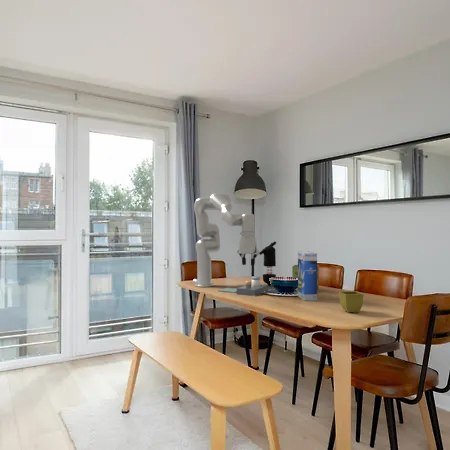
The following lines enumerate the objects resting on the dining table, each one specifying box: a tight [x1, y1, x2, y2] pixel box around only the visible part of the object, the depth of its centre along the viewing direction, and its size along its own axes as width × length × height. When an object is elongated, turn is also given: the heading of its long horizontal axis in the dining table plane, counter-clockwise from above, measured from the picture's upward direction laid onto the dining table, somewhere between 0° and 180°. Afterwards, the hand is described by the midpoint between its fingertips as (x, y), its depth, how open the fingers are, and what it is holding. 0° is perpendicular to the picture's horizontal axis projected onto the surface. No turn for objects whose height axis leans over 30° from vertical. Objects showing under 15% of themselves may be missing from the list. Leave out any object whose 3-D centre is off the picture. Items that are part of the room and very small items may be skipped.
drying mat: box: [217, 287, 238, 294], centre depth 241 cm, size 12×12×1 cm
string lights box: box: [297, 250, 318, 302], centre depth 214 cm, size 13×8×26 cm, turn 5°
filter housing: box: [236, 284, 270, 297], centre depth 233 cm, size 12×19×4 cm, turn 148°
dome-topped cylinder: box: [250, 276, 261, 287], centre depth 237 cm, size 6×6×9 cm
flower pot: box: [338, 290, 365, 313], centre depth 180 cm, size 9×9×9 cm
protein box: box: [291, 264, 320, 293], centre depth 240 cm, size 10×15×16 cm
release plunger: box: [245, 280, 252, 289], centre depth 229 cm, size 4×4×6 cm
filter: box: [259, 241, 277, 287], centre depth 258 cm, size 14×9×30 cm
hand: (248, 264), depth 229 cm, fingers open, 5 cm apart
